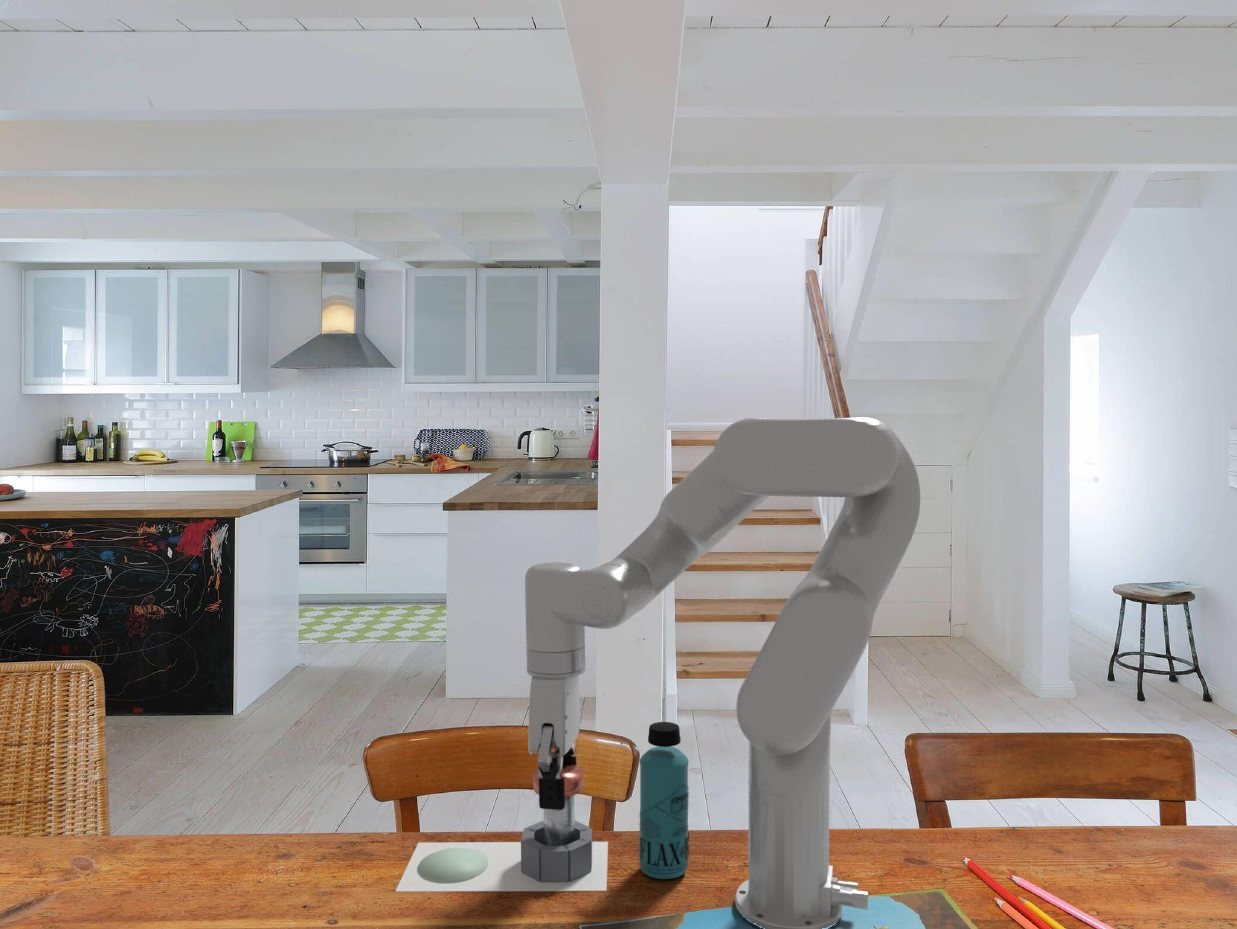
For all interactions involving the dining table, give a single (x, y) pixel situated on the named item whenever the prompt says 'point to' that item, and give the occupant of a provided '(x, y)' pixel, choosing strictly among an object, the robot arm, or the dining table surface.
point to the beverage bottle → (664, 805)
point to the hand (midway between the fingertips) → (558, 795)
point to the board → (509, 865)
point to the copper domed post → (562, 821)
